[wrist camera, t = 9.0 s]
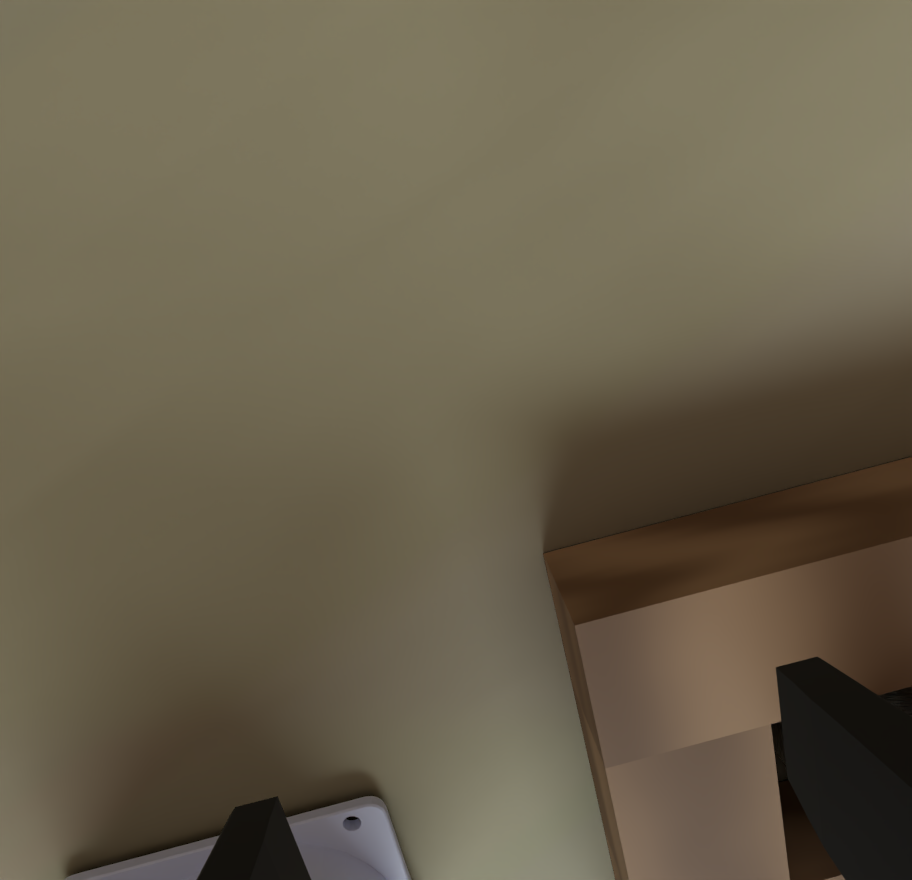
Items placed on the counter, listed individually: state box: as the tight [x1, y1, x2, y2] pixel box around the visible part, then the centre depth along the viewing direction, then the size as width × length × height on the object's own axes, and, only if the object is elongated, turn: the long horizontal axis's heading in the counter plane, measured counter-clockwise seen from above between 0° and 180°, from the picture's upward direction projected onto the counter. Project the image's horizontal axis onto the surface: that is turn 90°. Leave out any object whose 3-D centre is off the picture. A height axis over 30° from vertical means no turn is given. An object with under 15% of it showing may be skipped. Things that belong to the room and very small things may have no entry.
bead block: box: [543, 457, 912, 880], centre depth 24 cm, size 14×14×4 cm
